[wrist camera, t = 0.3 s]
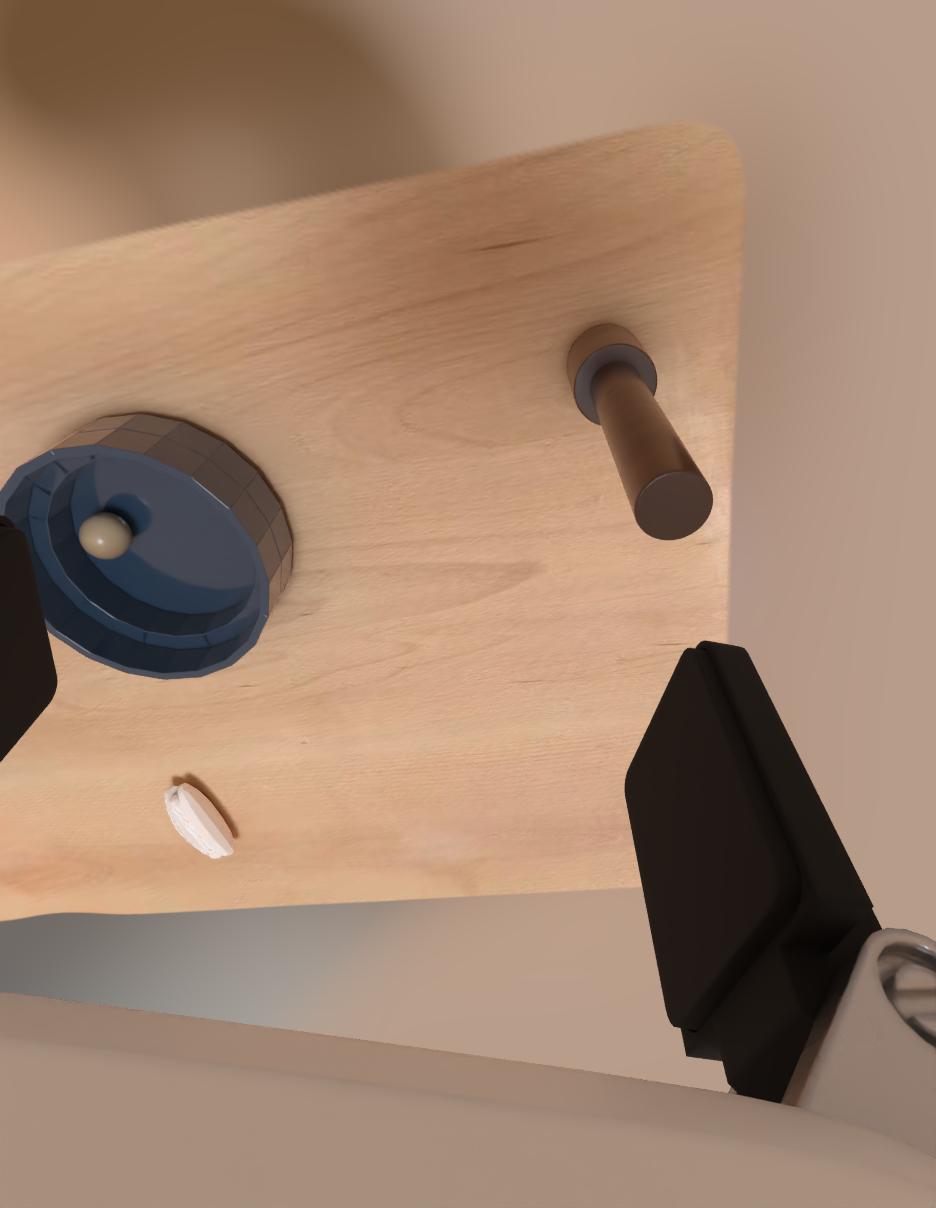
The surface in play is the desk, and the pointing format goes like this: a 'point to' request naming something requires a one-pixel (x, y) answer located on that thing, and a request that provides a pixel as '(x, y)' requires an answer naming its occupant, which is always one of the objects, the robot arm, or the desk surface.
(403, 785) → the desk surface
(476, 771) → the desk surface
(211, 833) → the sandwich bun
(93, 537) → the ball
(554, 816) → the desk surface
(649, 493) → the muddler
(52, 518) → the bowl
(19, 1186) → the robot arm
